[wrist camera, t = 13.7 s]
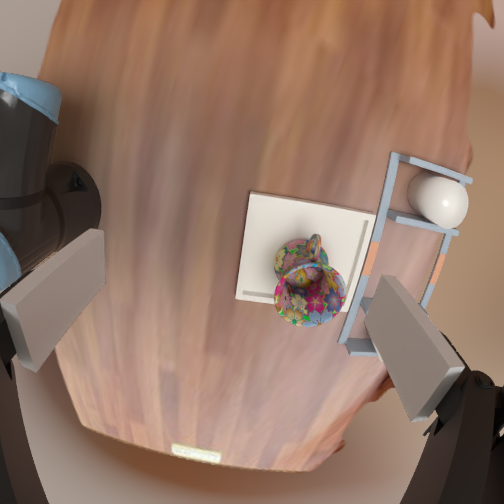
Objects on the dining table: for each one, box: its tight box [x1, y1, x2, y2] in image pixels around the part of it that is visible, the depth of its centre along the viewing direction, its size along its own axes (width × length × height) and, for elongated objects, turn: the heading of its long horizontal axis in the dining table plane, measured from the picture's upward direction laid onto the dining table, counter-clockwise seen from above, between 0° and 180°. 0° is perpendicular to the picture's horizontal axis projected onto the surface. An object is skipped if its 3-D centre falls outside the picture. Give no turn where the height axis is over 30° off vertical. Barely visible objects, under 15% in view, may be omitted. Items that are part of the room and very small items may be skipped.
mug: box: [274, 234, 346, 327], centre depth 42 cm, size 12×9×11 cm
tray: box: [235, 191, 376, 312], centre depth 46 cm, size 19×17×2 cm
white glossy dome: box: [407, 172, 468, 229], centre depth 39 cm, size 7×7×8 cm
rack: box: [338, 152, 473, 357], centre depth 46 cm, size 16×35×4 cm, turn 172°
